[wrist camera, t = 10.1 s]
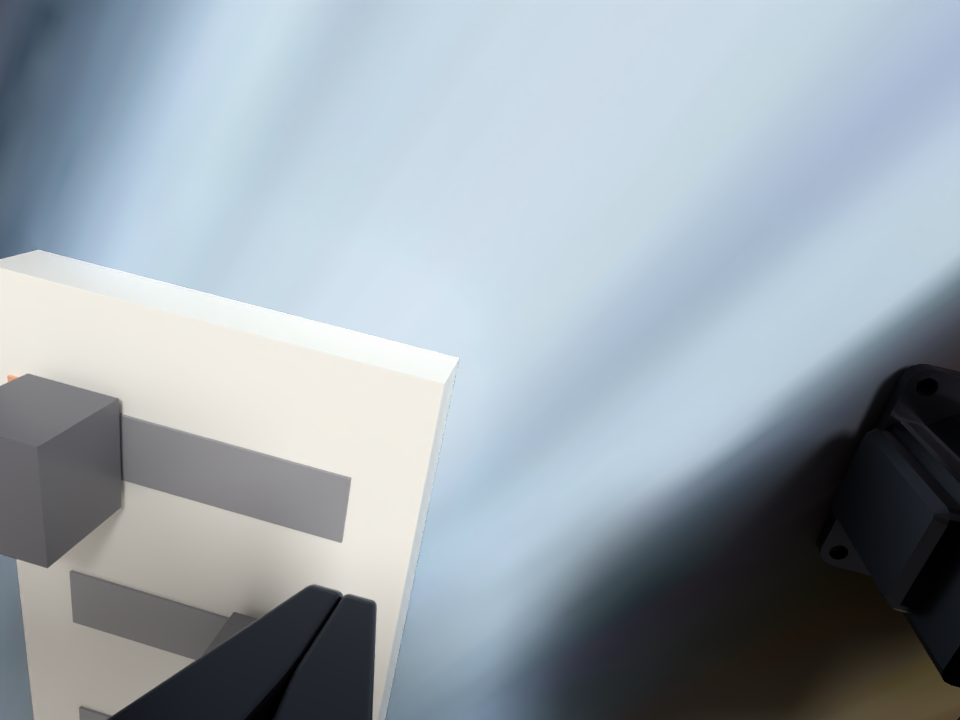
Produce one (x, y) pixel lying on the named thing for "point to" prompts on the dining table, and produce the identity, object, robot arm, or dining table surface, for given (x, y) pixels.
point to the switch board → (217, 474)
